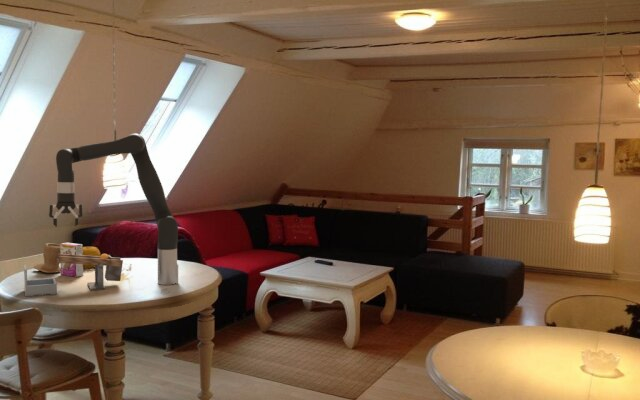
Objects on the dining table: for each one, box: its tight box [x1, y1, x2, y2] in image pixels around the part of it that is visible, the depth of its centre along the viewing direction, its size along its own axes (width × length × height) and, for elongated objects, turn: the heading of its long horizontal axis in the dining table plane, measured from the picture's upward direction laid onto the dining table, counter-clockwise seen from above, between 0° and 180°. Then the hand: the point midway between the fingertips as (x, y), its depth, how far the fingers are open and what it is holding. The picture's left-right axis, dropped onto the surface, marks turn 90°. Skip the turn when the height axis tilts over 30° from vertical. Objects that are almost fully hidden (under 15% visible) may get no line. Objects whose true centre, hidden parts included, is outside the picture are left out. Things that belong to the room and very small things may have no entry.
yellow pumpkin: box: [83, 246, 101, 269], centre depth 320 cm, size 13×13×11 cm
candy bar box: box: [59, 242, 84, 278], centre depth 299 cm, size 11×5×16 cm, turn 65°
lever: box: [57, 254, 124, 282], centre depth 277 cm, size 28×14×11 cm, turn 119°
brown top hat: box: [32, 242, 61, 274], centre depth 307 cm, size 15×12×15 cm
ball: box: [100, 253, 109, 259], centre depth 277 cm, size 4×4×4 cm
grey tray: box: [23, 264, 58, 297], centre depth 265 cm, size 13×13×12 cm
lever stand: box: [87, 263, 106, 292], centre depth 276 cm, size 6×13×12 cm, turn 29°
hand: (65, 226), depth 275 cm, fingers open, 8 cm apart
